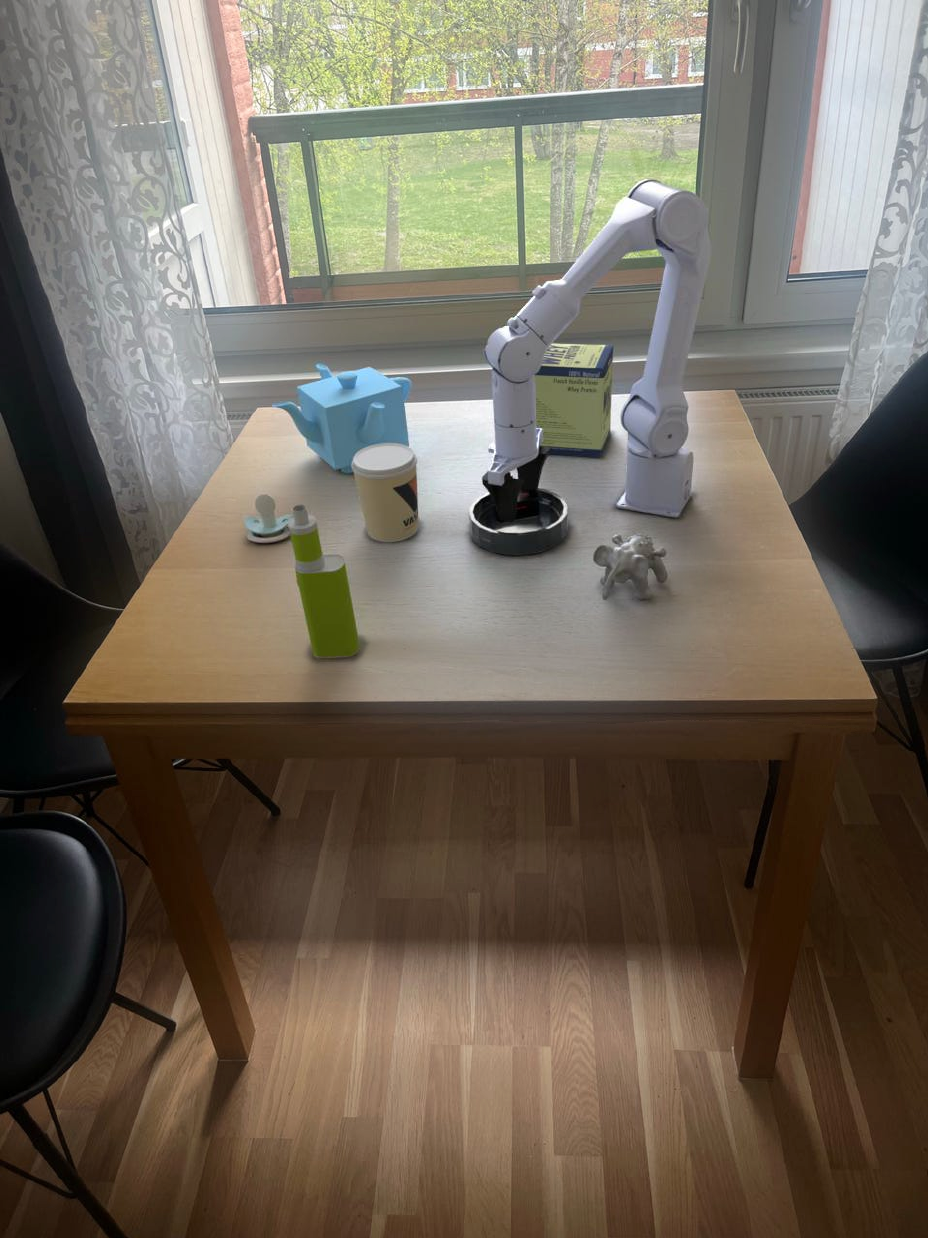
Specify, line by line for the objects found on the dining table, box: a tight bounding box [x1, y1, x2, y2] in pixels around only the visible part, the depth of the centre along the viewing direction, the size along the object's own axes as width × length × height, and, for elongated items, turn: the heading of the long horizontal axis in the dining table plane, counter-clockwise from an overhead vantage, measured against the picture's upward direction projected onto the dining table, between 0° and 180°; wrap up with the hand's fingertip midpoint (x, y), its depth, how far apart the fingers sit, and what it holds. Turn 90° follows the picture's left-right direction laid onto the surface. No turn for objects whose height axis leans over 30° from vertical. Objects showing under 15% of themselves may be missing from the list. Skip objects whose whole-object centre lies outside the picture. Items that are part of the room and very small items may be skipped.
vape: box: [287, 504, 360, 659], centre depth 106 cm, size 4×6×20 cm, turn 90°
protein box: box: [535, 343, 614, 459], centre depth 150 cm, size 10×16×16 cm
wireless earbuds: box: [493, 489, 540, 523], centre depth 129 cm, size 5×7×3 cm, turn 104°
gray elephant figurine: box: [592, 532, 669, 601], centre depth 114 cm, size 9×12×8 cm
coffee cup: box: [352, 443, 419, 543], centre depth 131 cm, size 9×9×12 cm
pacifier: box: [243, 493, 294, 544], centre depth 134 cm, size 7×6×6 cm
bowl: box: [468, 487, 569, 556], centre depth 131 cm, size 14×14×4 cm
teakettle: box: [271, 363, 413, 474], centre depth 151 cm, size 19×19×15 cm
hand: (518, 507), depth 129 cm, fingers closed on wireless earbuds, 7 cm apart
